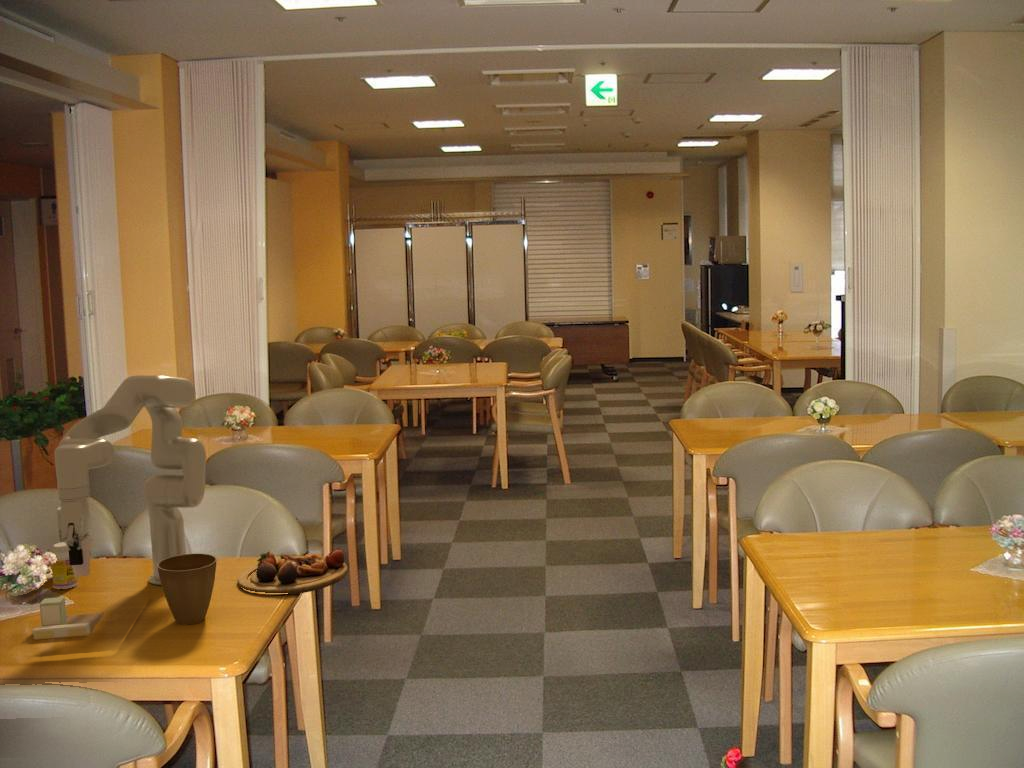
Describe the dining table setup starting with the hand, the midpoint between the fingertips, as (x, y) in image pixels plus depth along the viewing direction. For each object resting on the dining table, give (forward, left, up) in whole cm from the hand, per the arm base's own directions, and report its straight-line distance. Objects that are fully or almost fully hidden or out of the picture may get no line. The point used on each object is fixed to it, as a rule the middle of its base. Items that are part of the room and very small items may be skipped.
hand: (80, 560), depth 261 cm
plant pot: (-27, 0, -19) cm, 32 cm away
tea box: (+8, -1, -17) cm, 19 cm away
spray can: (+17, -53, -19) cm, 59 cm away
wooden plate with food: (-51, -29, -19) cm, 62 cm away
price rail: (+4, +7, -18) cm, 20 cm away
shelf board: (+4, 0, -18) cm, 19 cm away
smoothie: (0, 0, -4) cm, 4 cm away
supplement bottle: (+15, -37, -19) cm, 44 cm away
